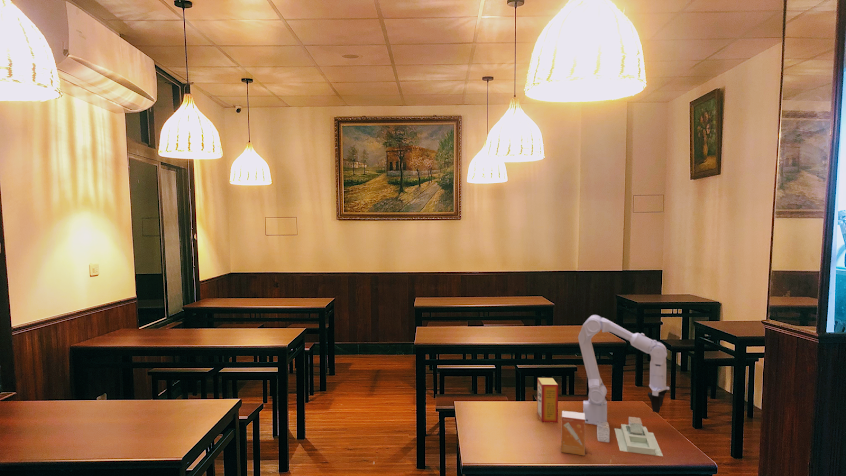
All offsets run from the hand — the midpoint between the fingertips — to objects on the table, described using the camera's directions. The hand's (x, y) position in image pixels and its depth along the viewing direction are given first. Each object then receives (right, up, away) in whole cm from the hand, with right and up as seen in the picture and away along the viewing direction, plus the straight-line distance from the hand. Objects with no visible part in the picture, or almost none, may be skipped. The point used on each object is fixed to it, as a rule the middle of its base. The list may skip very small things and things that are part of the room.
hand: (657, 409), depth 184 cm
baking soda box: (-39, -10, +16) cm, 43 cm away
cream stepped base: (-12, -10, -8) cm, 17 cm away
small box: (-37, -10, -14) cm, 41 cm away
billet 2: (-10, -9, -3) cm, 14 cm away
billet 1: (-23, -10, -6) cm, 26 cm away
